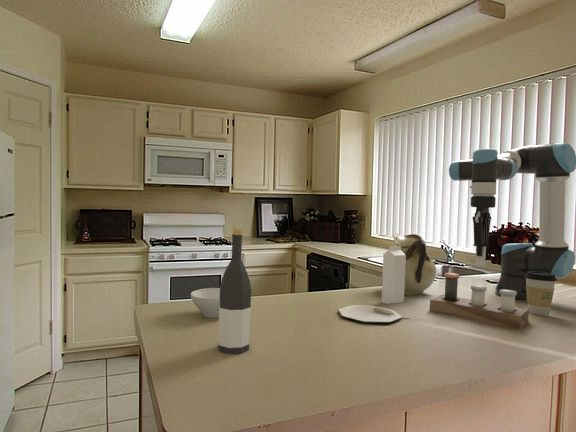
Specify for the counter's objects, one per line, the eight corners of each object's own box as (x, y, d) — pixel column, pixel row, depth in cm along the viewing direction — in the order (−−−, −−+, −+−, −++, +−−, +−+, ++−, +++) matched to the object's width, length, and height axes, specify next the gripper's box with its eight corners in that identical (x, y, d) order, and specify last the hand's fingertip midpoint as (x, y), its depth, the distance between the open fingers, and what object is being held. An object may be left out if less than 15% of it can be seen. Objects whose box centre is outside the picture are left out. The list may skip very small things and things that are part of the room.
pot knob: (446, 297, 146) (447, 272, 146) (459, 299, 143) (461, 274, 143) (441, 299, 143) (442, 273, 142) (455, 301, 139) (456, 275, 139)
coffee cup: (559, 319, 140) (562, 276, 140) (528, 317, 142) (531, 274, 142) (547, 312, 150) (549, 272, 149) (518, 310, 152) (520, 270, 151)
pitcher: (399, 284, 192) (402, 232, 191) (447, 294, 175) (450, 237, 174) (371, 291, 177) (373, 234, 176) (421, 302, 160) (424, 239, 159)
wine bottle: (244, 355, 97) (248, 230, 96) (212, 352, 98) (216, 228, 97) (253, 344, 105) (257, 228, 104) (223, 341, 106) (227, 227, 105)
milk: (403, 304, 154) (407, 246, 153) (392, 306, 151) (395, 247, 150) (392, 300, 159) (395, 245, 159) (380, 302, 156) (383, 245, 156)
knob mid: (472, 310, 140) (473, 284, 140) (486, 313, 137) (488, 286, 137) (467, 312, 137) (468, 286, 137) (482, 315, 134) (484, 288, 133)
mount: (442, 307, 151) (442, 294, 151) (527, 324, 132) (528, 309, 132) (429, 313, 142) (430, 299, 142) (519, 332, 123) (520, 316, 123)
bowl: (249, 312, 135) (250, 291, 135) (222, 324, 120) (222, 301, 120) (209, 306, 142) (210, 286, 141) (179, 316, 127) (180, 294, 127)
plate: (409, 318, 137) (410, 313, 136) (380, 330, 122) (380, 325, 122) (360, 306, 150) (360, 302, 150) (327, 316, 135) (327, 311, 135)
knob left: (500, 315, 135) (501, 288, 134) (516, 318, 131) (518, 291, 131) (496, 318, 131) (498, 290, 131) (513, 321, 128) (514, 293, 127)
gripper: (477, 196, 143) (474, 262, 144) (465, 195, 133) (462, 266, 134) (500, 196, 138) (497, 265, 139) (489, 195, 129) (486, 269, 129)
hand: (480, 265), depth 137 cm, fingers closed
